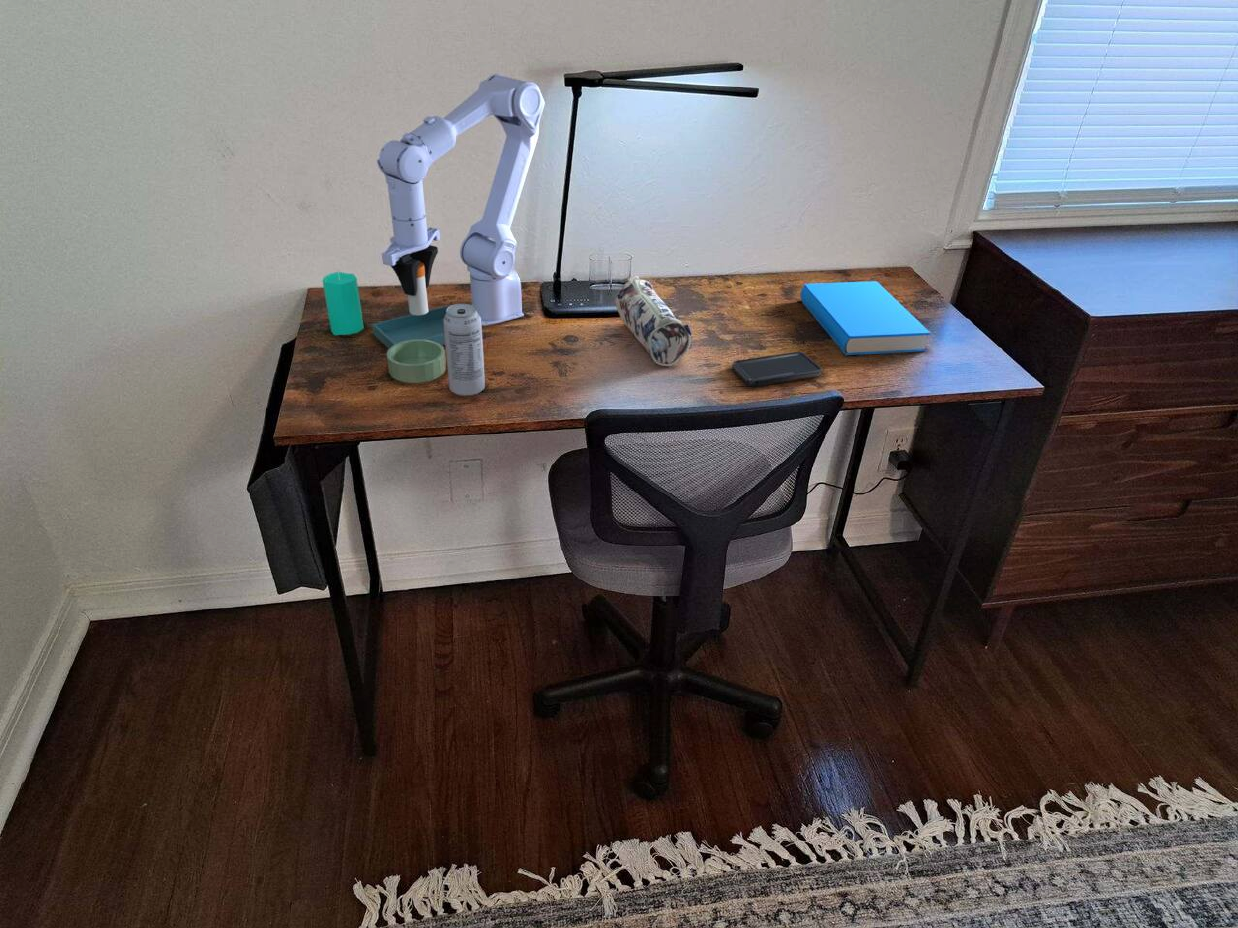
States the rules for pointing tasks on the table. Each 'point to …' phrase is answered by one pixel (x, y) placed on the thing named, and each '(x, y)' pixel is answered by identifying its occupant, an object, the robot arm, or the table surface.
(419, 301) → the glue stick
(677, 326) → the pencil case
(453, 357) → the energy drink can
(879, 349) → the book
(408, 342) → the green round bowl
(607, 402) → the table surface
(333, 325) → the candle
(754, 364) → the phone
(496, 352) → the table surface
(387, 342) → the tray
